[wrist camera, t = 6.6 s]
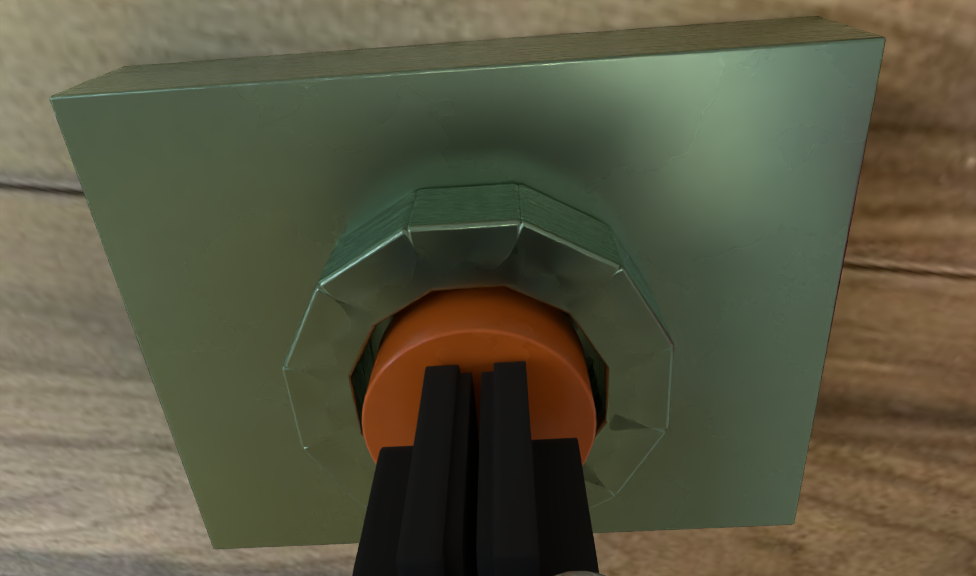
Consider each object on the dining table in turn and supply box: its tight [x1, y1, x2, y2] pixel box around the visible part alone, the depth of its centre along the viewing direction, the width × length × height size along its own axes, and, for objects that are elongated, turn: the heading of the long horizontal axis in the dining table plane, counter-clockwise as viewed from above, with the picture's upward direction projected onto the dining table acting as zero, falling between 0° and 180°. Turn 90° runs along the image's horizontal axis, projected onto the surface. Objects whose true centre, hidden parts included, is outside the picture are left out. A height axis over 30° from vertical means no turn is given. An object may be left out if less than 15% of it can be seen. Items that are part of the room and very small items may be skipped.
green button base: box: [50, 16, 886, 549], centre depth 15 cm, size 14×11×4 cm
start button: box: [362, 287, 597, 466], centre depth 13 cm, size 4×4×2 cm
